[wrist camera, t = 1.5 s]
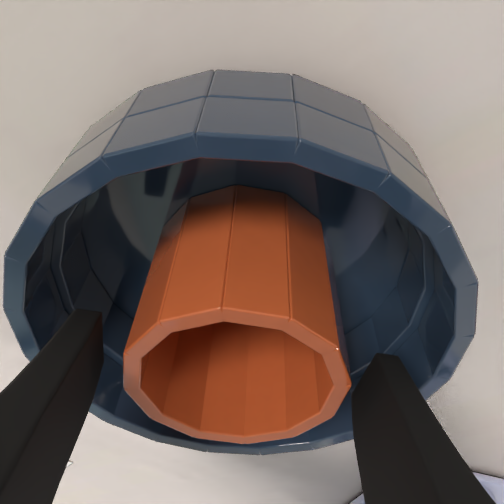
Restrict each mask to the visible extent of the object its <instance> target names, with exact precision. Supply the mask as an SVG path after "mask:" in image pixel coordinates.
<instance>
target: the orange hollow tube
mask: <svg viewBox="0 0 504 504" xmlns="http://www.w3.org/2000/svg"><path fill="white" fill-rule="evenodd" d="M351 384H352V380H351V374H350V368H349V362H348V355H347V349H346V343H345V337H344V330H343V324H342V318H341V312H340V305H339V299H338V293H337V287H336V280H335V274H334V268H333V262H332V255H331V252H330V249H329V245H328V242H327V239H326V236H325V233H324V229H323V226H322V223H321V222H320V220H319V219H318V218H317V217H315V216H314V215H313V214H311V213H310V212H309V211H308V210H306V209H305V208H304V207H302V206H301V205H300V204H299V203H297V202H296V201H295V200H293V199H292V198H291V197H290V196H288V195H287V194H285V193H282V192H276V191H270V190H265V189H259V188H254V187H248V186H243V185H232V186H229V187H225V188H222V189H219V190H215V191H212V192H208V193H205V194H201V195H198V196H194V197H192V198H191V199H188V200H187V201H186V203H185V204H184V205H183V206H182V207H181V208H180V209H179V210H178V211H177V212H176V213H175V214H174V216H173V217H172V218H171V219H170V220H169V221H168V222H167V223H166V224H165V225H164V226H163V229H162V232H161V235H160V238H159V241H158V244H157V247H156V251H155V254H154V257H153V260H152V263H151V266H150V270H149V273H148V276H147V279H146V282H145V286H144V289H143V292H142V295H141V298H140V301H139V305H138V308H137V311H136V314H135V317H134V321H133V324H132V327H131V330H130V333H129V336H128V340H127V343H126V346H125V349H124V352H123V388H124V390H125V391H126V392H127V394H128V395H129V396H130V397H131V398H132V399H133V400H134V401H135V402H136V403H137V405H138V406H139V407H140V408H141V409H142V410H143V411H144V412H145V413H146V414H147V416H148V417H149V418H152V420H154V421H157V422H159V423H161V424H164V425H166V426H168V427H170V428H173V429H175V430H177V431H180V432H182V433H184V434H186V435H189V436H191V437H195V438H199V439H207V440H215V441H223V442H231V443H239V444H251V443H258V442H265V441H272V440H279V439H286V438H293V437H296V436H298V435H300V434H302V433H304V432H306V431H308V430H310V429H312V428H314V427H315V426H317V425H319V424H321V423H323V422H325V421H327V420H329V419H331V418H332V417H333V416H335V414H336V412H337V410H338V409H339V407H340V405H341V403H342V402H343V400H344V398H345V396H346V395H347V393H348V391H349V390H350V388H351Z"/></svg>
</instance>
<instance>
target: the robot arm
mask: <svg viewBox="0 0 504 504" xmlns="http://www.w3.org/2000/svg"><path fill="white" fill-rule="evenodd" d="M103 363H104V350H103V326H102V312H97V311H90V310H83V309H76V310H74V311H73V312H72V313H71V314H70V316H69V317H68V318H67V319H66V321H65V322H64V323H63V324H62V326H61V327H60V328H59V329H58V331H57V332H56V333H55V334H54V335H53V337H52V338H51V339H50V340H49V341H48V342H47V344H46V345H45V346H44V347H43V348H42V349H41V351H40V352H39V353H38V354H37V355H36V356H35V357H34V358H33V359H32V360H31V362H30V363H29V364H28V365H27V366H26V367H25V368H24V369H23V370H22V371H21V372H20V373H19V374H18V376H17V377H16V378H15V379H14V380H13V381H12V382H11V383H10V384H9V385H8V386H7V387H6V388H5V389H4V390H3V391H2V392H1V393H0V504H52V502H53V499H54V496H55V494H56V491H57V488H58V485H59V483H60V481H61V478H62V476H63V473H64V471H65V468H66V466H67V463H68V461H69V458H70V456H71V453H72V451H73V448H74V446H75V444H76V441H77V439H78V436H79V434H80V431H81V429H82V426H83V424H84V421H85V419H86V416H87V414H88V411H89V409H90V406H91V404H92V401H93V398H94V395H95V391H96V388H97V385H98V381H99V377H100V374H101V370H102V367H103ZM351 403H352V424H353V436H354V442H355V448H356V454H357V460H358V466H359V472H360V478H361V483H362V489H363V493H362V494H361V495H360V496H359V497H357V498H356V499H355V500H353V501H352V502H351V503H349V504H504V479H502V478H497V477H493V476H489V475H484V474H480V473H476V472H472V471H471V470H470V468H469V467H468V465H467V464H466V462H465V461H464V460H463V458H462V457H461V455H460V454H459V452H458V451H457V449H456V448H455V446H454V445H453V443H452V442H451V440H450V439H449V437H448V436H447V434H446V433H445V431H444V430H443V428H442V426H441V425H440V423H439V422H438V420H437V419H436V417H435V416H434V414H433V412H432V411H431V409H430V408H429V406H428V404H427V403H426V401H425V399H424V398H423V396H422V394H421V393H420V391H419V389H418V388H417V386H416V384H415V383H414V381H413V379H412V378H411V376H410V374H409V373H408V371H407V369H406V368H405V366H404V364H403V363H402V361H401V360H400V358H399V356H396V355H389V354H382V353H376V354H375V356H374V357H373V359H372V361H371V362H370V364H369V366H368V367H367V369H366V371H365V373H364V374H363V376H362V378H361V379H360V381H359V383H358V384H357V386H356V388H355V390H354V391H353V393H352V395H351Z"/></svg>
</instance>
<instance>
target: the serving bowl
mask: <svg viewBox="0 0 504 504" xmlns="http://www.w3.org/2000/svg"><path fill="white" fill-rule="evenodd" d="M232 185H243V186H248V187H254V188H259V189H265V190H270V191H276V192H282V193H285V194H287V195H288V196H290V197H291V198H292V199H293V200H295V201H296V202H297V203H299V204H300V205H301V206H302V207H304V208H305V209H306V210H308V211H309V212H310V213H311V214H313V215H314V216H315V217H317V218H318V219H319V220H320V222H321V223H322V226H323V229H324V233H325V236H326V239H327V242H328V245H329V249H330V252H331V255H332V262H333V268H334V274H335V280H336V287H337V293H338V299H339V305H340V312H341V318H342V324H343V330H344V337H345V343H346V349H347V355H348V362H349V368H350V374H351V380H352V384H351V388H350V390H349V391H348V393H347V395H346V396H345V398H344V400H343V402H342V403H341V405H340V407H339V409H338V410H337V412H336V414H335V416H333V417H332V418H331V419H329V420H327V421H325V422H323V423H321V424H319V425H317V426H315V427H314V428H312V429H310V430H308V431H306V432H304V433H302V434H300V435H298V436H296V437H293V438H286V439H279V440H272V441H265V442H258V443H251V444H239V443H231V442H223V441H215V440H207V439H199V438H195V437H191V436H189V435H186V434H184V433H182V432H180V431H177V430H175V429H173V428H170V427H168V426H166V425H164V424H161V423H159V422H157V421H154V420H152V418H149V417H148V416H147V414H146V413H145V412H144V411H143V410H142V409H141V408H140V407H139V406H138V405H137V403H136V402H135V401H134V400H133V399H132V398H131V397H130V396H129V395H128V394H127V392H126V391H125V390H124V388H123V352H124V349H125V346H126V343H127V340H128V336H129V333H130V330H131V327H132V324H133V321H134V317H135V314H136V311H137V308H138V305H139V301H140V298H141V295H142V292H143V289H144V286H145V282H146V279H147V276H148V273H149V270H150V266H151V263H152V260H153V257H154V254H155V251H156V247H157V244H158V241H159V238H160V235H161V232H162V229H163V226H164V225H165V224H166V223H167V222H168V221H169V220H170V219H171V218H172V217H173V216H174V214H175V213H176V212H177V211H178V210H179V209H180V208H181V207H182V206H183V205H184V204H185V203H186V201H187V200H188V199H191V198H192V197H194V196H198V195H201V194H205V193H208V192H212V191H215V190H219V189H222V188H225V187H229V186H232ZM477 297H478V279H477V276H476V274H475V272H474V270H473V268H472V266H471V264H470V261H469V259H468V257H467V255H466V253H465V251H464V248H463V246H462V244H461V242H460V240H459V238H458V235H457V233H456V231H455V229H454V227H453V225H452V223H451V221H450V219H449V217H448V215H447V213H446V211H445V210H444V208H443V206H442V204H441V202H440V200H439V198H438V196H437V194H436V192H435V191H434V189H433V187H432V185H431V183H430V181H429V179H428V177H427V175H426V174H425V172H424V170H423V168H422V166H421V164H420V162H419V160H418V158H417V156H416V155H415V153H414V151H413V149H412V148H411V147H410V145H409V144H408V143H407V142H406V141H405V140H404V139H402V138H401V137H400V136H399V135H398V134H397V133H396V132H395V131H394V130H393V129H391V128H390V127H389V126H388V125H387V124H386V123H385V122H384V121H383V120H382V119H380V118H379V117H378V116H377V115H376V114H375V113H374V112H373V111H372V110H370V109H369V108H368V107H367V106H366V105H365V104H363V103H362V102H361V101H359V100H357V99H355V98H352V97H350V96H347V95H345V94H342V93H340V92H337V91H335V90H332V89H330V88H327V87H325V86H322V85H320V84H317V83H315V82H312V81H310V80H308V79H305V78H303V77H300V76H298V75H295V74H292V76H291V75H290V74H283V73H266V72H248V71H231V70H216V71H214V70H209V71H205V72H202V73H198V74H194V75H191V76H187V77H184V78H180V79H176V80H173V81H169V82H166V83H162V84H158V85H155V86H151V87H148V88H144V89H143V90H140V91H138V92H137V93H136V94H134V95H133V96H132V97H130V98H129V99H127V100H126V101H125V102H123V103H122V104H121V105H119V106H118V107H116V108H115V109H114V110H112V111H111V112H110V113H108V114H107V115H105V116H104V117H103V118H101V119H100V120H99V121H97V122H96V123H95V124H93V125H92V126H90V128H89V129H88V130H87V131H86V133H85V134H84V135H83V137H82V138H81V139H80V141H79V142H78V143H77V145H76V146H75V147H74V149H73V150H72V151H71V153H70V154H69V155H68V157H67V158H66V159H65V161H64V162H63V164H62V165H61V166H60V168H59V169H58V170H57V172H56V173H55V174H54V176H53V177H52V178H51V180H50V181H49V182H48V184H47V185H46V186H45V188H44V189H43V191H42V192H41V193H40V195H39V196H38V197H37V199H36V200H35V201H34V203H33V205H32V206H31V208H30V210H29V212H28V213H27V215H26V217H25V219H24V220H23V222H22V224H21V225H20V227H19V229H18V231H17V232H16V234H15V236H14V238H13V239H12V241H11V243H10V244H9V246H8V248H7V250H6V251H5V255H4V282H3V308H4V312H5V314H6V317H7V319H8V321H9V323H10V325H11V328H12V330H13V332H14V334H15V337H16V339H17V341H18V343H19V345H20V348H21V350H22V352H23V354H24V355H25V357H26V358H27V359H28V360H29V361H30V362H31V360H32V359H33V358H34V357H35V356H36V355H37V354H38V353H39V352H40V351H41V349H42V348H43V347H44V346H45V345H46V344H47V342H48V341H49V340H50V339H51V338H52V337H53V335H54V334H55V333H56V332H57V331H58V329H59V328H60V327H61V326H62V324H63V323H64V322H65V321H66V319H67V318H68V317H69V316H70V314H71V313H72V312H73V311H74V310H76V309H83V310H90V311H97V312H102V326H103V350H104V363H103V367H102V370H101V374H100V377H99V381H98V385H97V388H96V391H95V395H94V398H93V401H92V404H91V406H90V409H89V412H90V413H92V414H93V415H95V416H97V417H98V418H100V419H101V420H103V421H105V422H107V423H110V424H112V425H115V426H117V427H120V428H122V429H125V430H127V431H130V432H133V433H135V434H138V435H140V436H143V437H145V438H148V439H150V440H155V441H156V442H161V443H165V444H170V445H175V446H179V447H184V448H189V449H194V450H198V451H203V452H213V453H231V454H249V455H260V454H261V455H267V454H278V453H288V452H298V451H308V450H313V449H319V448H323V447H327V446H330V445H334V444H338V443H341V442H345V441H349V440H352V439H354V436H353V424H352V403H351V395H352V393H353V391H354V390H355V388H356V386H357V384H358V383H359V381H360V379H361V378H362V376H363V374H364V373H365V371H366V369H367V367H368V366H369V364H370V362H371V361H372V359H373V357H374V356H375V354H376V353H382V354H389V355H396V356H399V358H400V360H401V361H402V363H403V364H404V366H405V368H406V369H407V371H408V373H409V374H410V376H411V378H412V379H413V381H414V383H415V384H416V386H417V388H418V389H419V391H420V393H421V394H422V396H423V398H424V399H425V401H426V400H427V399H428V398H429V397H430V396H432V395H433V394H434V393H435V392H436V391H437V390H439V389H440V388H441V387H442V386H443V385H444V384H445V383H447V382H448V381H449V379H450V378H451V377H452V375H453V374H454V372H455V370H456V368H457V366H458V365H459V363H460V361H461V359H462V358H463V356H464V354H465V352H466V350H467V349H468V347H469V345H470V343H471V341H472V340H473V338H474V335H475V331H476V314H477Z"/></svg>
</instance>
